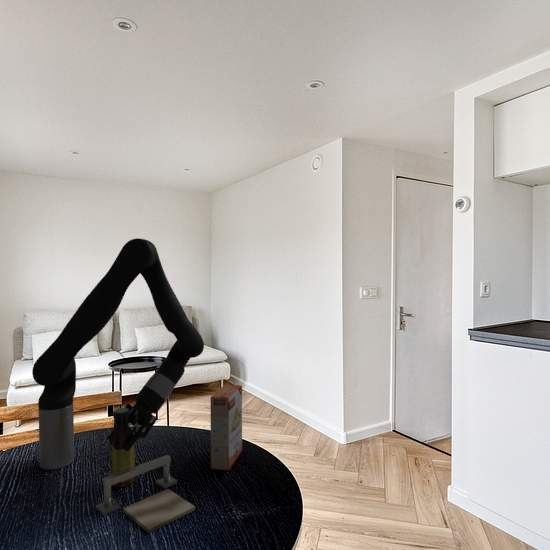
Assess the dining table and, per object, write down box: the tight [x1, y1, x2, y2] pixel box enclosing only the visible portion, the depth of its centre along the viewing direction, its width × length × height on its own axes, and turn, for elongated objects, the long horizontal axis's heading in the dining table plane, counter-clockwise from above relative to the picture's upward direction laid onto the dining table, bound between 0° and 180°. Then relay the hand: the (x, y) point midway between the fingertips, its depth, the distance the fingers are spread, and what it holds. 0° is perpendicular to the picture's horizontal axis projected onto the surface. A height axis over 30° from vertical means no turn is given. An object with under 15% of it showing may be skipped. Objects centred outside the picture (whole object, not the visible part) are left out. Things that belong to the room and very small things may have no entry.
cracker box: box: [210, 384, 243, 471], centre depth 125 cm, size 14×6×21 cm, turn 168°
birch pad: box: [122, 488, 196, 534], centre depth 98 cm, size 12×12×1 cm
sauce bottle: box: [108, 407, 136, 488], centre depth 112 cm, size 7×6×20 cm
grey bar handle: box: [95, 454, 178, 516], centre depth 105 cm, size 4×20×7 cm, turn 136°
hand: (117, 444), depth 111 cm, fingers open, 8 cm apart
